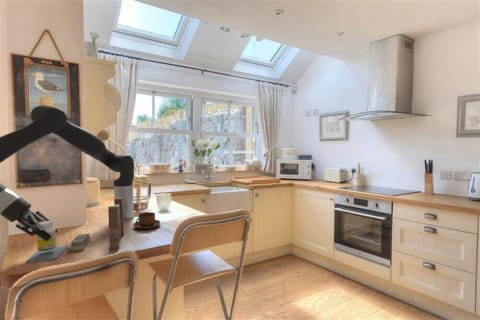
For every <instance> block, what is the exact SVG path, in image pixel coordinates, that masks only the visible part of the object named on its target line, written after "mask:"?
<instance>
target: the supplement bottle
mask: <svg viewBox="0 0 480 320" xmlns="http://www.w3.org/2000/svg"><path fill="white" fill-rule="evenodd" d="M39 226H40V227H41V228H42V230H45V231H46V232H47V233H49V234H50V235H52V237H51V238H50V239H49V240H48V241H45V240H44V239H42V238H41V237H39V236H38V235H36V239H37V240H36V242H37V251H39V252H48V251H52V250H54V249H56V247H57V233H56V230H57V229H56V227H54V223H53V221H52V220H50V221H44V222H41V223H39ZM55 229H56V230H55Z"/></svg>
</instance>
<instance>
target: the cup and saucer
mask: <svg viewBox="0 0 480 320" xmlns="http://www.w3.org/2000/svg"><path fill="white" fill-rule="evenodd" d="M160 224H161V221H160V220H159V219H156V213H155V212H151V211H148V212H141V213H139V214H138V218H136V219H135V222H134V223H133V224H132V226H133V228H135V229H138V230H149V229H154V228H157V227H159V226H160Z"/></svg>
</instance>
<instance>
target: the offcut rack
mask: <svg viewBox="0 0 480 320" xmlns="http://www.w3.org/2000/svg"><path fill="white" fill-rule="evenodd" d="M107 210H108V211H107V213H108V215H107V216H108V234H109V235H108V236H109V239H108V240H109V250H110V251H115V250H120V241H121V239H122V237H123V236H124V235H125V233H124V220H123V203H122V198H114V197H113V205H110V206H108V207H107ZM90 242H91V236H90V233H82V234H81V233H80V234H77V235H76V236H75V237H74V238H73V240H72V241H71V243H70V245H69V246H67V253H73V252H81V251H82V252H83V251H84V250H86V247H87V246H88V244H89V243H90Z"/></svg>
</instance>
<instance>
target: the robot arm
mask: <svg viewBox="0 0 480 320" xmlns="http://www.w3.org/2000/svg"><path fill="white" fill-rule="evenodd" d="M30 118H31V120H32V123H30V124H28V125H26V126H25V127H22V128H19V129H17V130H15V131H12V132H9V133H7V134H3V135H1V136H0V164H1V163H2V162H4V161H5V160H7V159H8V158H10V157H12V156H14V155H15V154H16V153H18V152H20V151H21V150H22V149H24V148H26V147H28V146H29V145H31V144H33V143H35V142H36V141H39V140H41V139H42V138H45V137H47V136H49V135H50V134H54V135H56V136H57V137H59V138H62V139H63V140H64V141H65V142H67V143H68V144H70V145H71V146H73V147H74V148H76V149H78V150H79V151H80V152H83V153H84V154H86V155H87V156H90V157H91V158H93V159H95V160H97V161H98V162H100V163H102V164H103V165H104V166H106V167H107V168H108V169H109V170H111V171H112V172H115V173H119V177H118V178H116V179H114V180H113V199H114V198H122V203H123V221H124V220H129V219H132V218H134V216H135V215H134V214H135V212H134V209H135V207H134V187H133V185H134V184H133V183H134V179H135V161H134V158H133V156H131V155H129V154H118V153H117V154H116V153H114V152H113V151H110V150H109V149H108V148H107V146H106V144H105V143H104V141H103V140H102V139H101V138H100V137H98V136H97V135H95V134H94V133H92V131H89V130H87V129H85V128H83V127H81V126H78V125H76V124H73V123H72V122H70V121H68V116H67V114H66V112H65V111H64V110H63V109H61V108H59V107H55V106H52V105H45V104H44V105H38V106H35V107H33V109H32V110H31V111H30ZM31 208H32V204H31V203H29V202H28V201H27V200H25V199H24V198H23V197H21V196H20V195H19V194H18V193H16V192H14V191H13V190H12V189H11V190H10V189H9V188H7V187H6V186H5V185H3V184H2V183H1V182H0V216H1V217H3V218H5V219H6V220H7V221H8V222H11V223H14V222H16V221H17V223H16V224H15V227H16V228H17V229H19V230H21V231H23V232H24V233H26V234H28V235H30V236H31V237H33V236H34V235H35V236H37V235H38V236H39V237H41V238H42V239H44V240H45V241H48V240H49V239H50V238H51V237H52V235H50V234H49V233H47V232H46V231H45V230H42V228H41V227H40V226H39V223H41V222H44V221H51V220H50V219H49V218H47V216H45V215H44V214H43V213H42V212H41V211H40V210H37V211H35V212H34V211H32V210H30V209H31ZM55 230H56V234H57V233H58V232H59V231H58V229H56V228H55Z"/></svg>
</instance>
